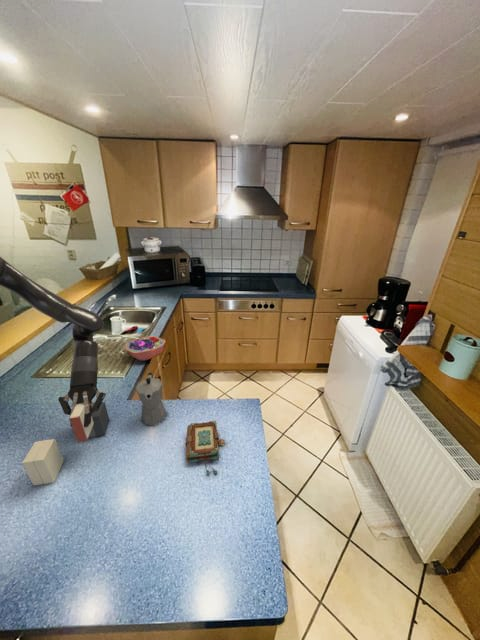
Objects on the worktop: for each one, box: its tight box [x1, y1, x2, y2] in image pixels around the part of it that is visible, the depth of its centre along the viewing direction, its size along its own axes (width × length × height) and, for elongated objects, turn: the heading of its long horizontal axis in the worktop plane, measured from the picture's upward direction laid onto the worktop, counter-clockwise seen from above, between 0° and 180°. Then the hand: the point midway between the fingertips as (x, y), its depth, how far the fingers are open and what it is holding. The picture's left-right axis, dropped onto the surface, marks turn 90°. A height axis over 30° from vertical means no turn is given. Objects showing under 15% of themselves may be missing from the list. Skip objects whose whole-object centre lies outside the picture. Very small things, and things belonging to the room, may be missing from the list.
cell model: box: [125, 335, 166, 362], centre depth 134 cm, size 17×20×11 cm
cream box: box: [21, 438, 64, 486], centre depth 75 cm, size 5×7×10 cm
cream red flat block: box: [68, 403, 94, 443], centre depth 79 cm, size 3×7×10 cm, turn 12°
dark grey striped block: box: [88, 401, 110, 439], centre depth 90 cm, size 8×7×10 cm
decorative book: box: [185, 420, 226, 476], centre depth 84 cm, size 13×18×5 cm
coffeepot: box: [135, 372, 167, 426], centre depth 95 cm, size 15×9×18 cm, turn 16°
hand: (80, 427), depth 77 cm, fingers closed on cream red flat block, 2 cm apart
